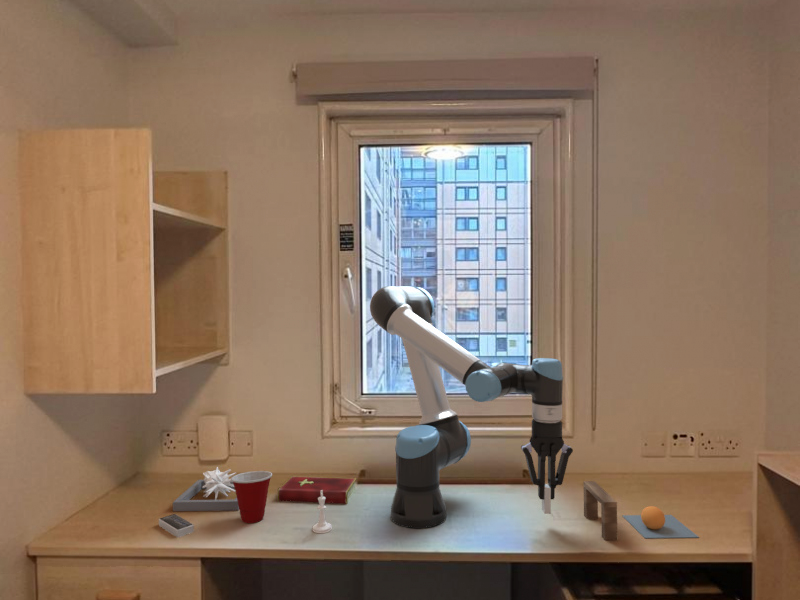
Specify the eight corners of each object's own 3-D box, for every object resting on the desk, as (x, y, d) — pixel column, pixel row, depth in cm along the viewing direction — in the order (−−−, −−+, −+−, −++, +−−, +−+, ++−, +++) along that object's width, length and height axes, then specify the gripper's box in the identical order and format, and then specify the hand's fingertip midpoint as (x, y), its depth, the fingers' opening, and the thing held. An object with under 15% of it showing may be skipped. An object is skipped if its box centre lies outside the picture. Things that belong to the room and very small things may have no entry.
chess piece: (313, 534, 131) (313, 494, 131) (311, 526, 136) (310, 488, 136) (333, 531, 132) (332, 492, 132) (330, 523, 137) (329, 486, 137)
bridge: (604, 540, 125) (604, 502, 125) (584, 515, 140) (583, 481, 140) (617, 540, 125) (616, 502, 125) (595, 515, 140) (594, 481, 140)
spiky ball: (239, 490, 166) (239, 463, 167) (243, 499, 155) (243, 470, 156) (201, 495, 162) (201, 467, 162) (202, 504, 150) (202, 474, 151)
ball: (673, 524, 128) (655, 537, 129) (664, 516, 134) (646, 528, 134) (659, 506, 129) (641, 519, 129) (650, 498, 134) (633, 511, 134)
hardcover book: (347, 506, 150) (346, 491, 150) (277, 503, 153) (277, 488, 153) (356, 490, 162) (356, 477, 162) (291, 488, 165) (291, 475, 165)
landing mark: (645, 538, 126) (645, 537, 126) (622, 516, 139) (622, 515, 139) (698, 537, 126) (698, 536, 126) (671, 515, 139) (671, 514, 139)
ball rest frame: (172, 511, 147) (172, 502, 147) (198, 487, 166) (198, 479, 166) (238, 510, 147) (238, 501, 147) (256, 486, 166) (256, 478, 166)
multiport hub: (177, 539, 130) (177, 530, 130) (158, 527, 138) (158, 518, 138) (194, 533, 134) (194, 524, 134) (174, 521, 141) (174, 513, 141)
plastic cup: (270, 508, 148) (269, 466, 148) (275, 523, 138) (275, 477, 138) (230, 514, 144) (229, 471, 144) (232, 530, 134) (232, 483, 134)
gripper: (524, 423, 129) (524, 517, 129) (577, 423, 129) (576, 517, 129) (518, 415, 137) (517, 505, 137) (567, 416, 137) (567, 505, 137)
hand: (546, 511), depth 133 cm, fingers closed
